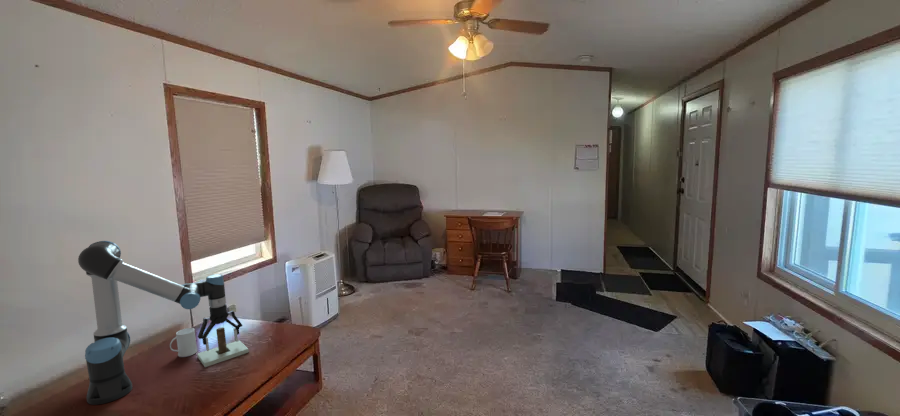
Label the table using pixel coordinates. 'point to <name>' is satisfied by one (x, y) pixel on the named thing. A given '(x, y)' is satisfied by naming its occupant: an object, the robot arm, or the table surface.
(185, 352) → the mug
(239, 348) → the socket board
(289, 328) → the table surface
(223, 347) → the peg
